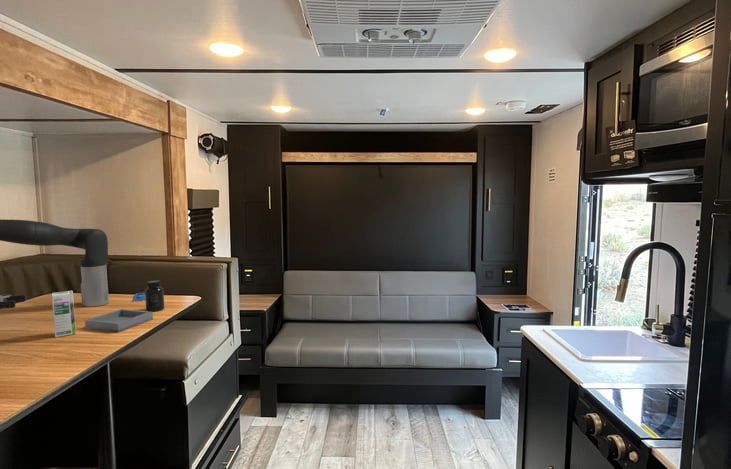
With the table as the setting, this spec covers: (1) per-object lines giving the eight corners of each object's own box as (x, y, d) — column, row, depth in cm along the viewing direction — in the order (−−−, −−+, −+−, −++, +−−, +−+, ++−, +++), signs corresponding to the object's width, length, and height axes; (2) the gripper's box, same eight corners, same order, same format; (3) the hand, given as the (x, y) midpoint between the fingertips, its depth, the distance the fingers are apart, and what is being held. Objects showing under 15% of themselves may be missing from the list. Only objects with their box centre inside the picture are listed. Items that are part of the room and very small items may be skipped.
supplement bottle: (168, 307, 168) (166, 279, 166) (158, 312, 161) (156, 283, 160) (152, 307, 168) (151, 279, 167) (142, 311, 162) (140, 283, 160)
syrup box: (54, 337, 132) (51, 295, 131) (55, 333, 137) (52, 292, 135) (75, 334, 135) (72, 292, 134) (75, 329, 140) (72, 289, 139)
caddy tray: (85, 328, 141) (85, 320, 141) (122, 316, 156) (121, 308, 155) (118, 332, 137) (117, 323, 137) (152, 319, 151) (152, 311, 151)
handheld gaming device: (132, 300, 177) (135, 292, 191) (133, 302, 178) (135, 295, 191) (153, 297, 181) (154, 290, 195) (153, 300, 181) (154, 293, 195)
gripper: (-60, 299, 117) (10, 294, 123) (-35, 289, 130) (27, 285, 136) (-58, 324, 117) (12, 317, 124) (-33, 312, 130) (29, 306, 137)
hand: (20, 301), depth 130 cm, fingers open, 8 cm apart
